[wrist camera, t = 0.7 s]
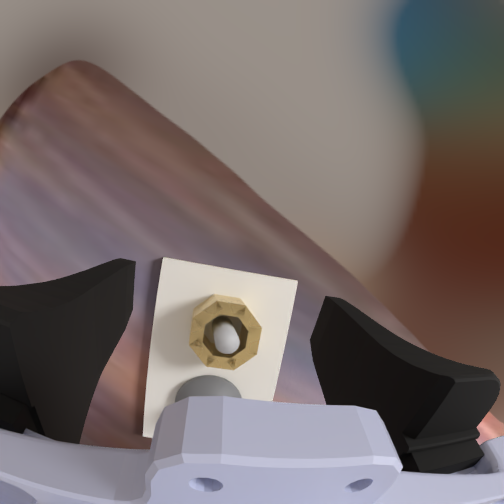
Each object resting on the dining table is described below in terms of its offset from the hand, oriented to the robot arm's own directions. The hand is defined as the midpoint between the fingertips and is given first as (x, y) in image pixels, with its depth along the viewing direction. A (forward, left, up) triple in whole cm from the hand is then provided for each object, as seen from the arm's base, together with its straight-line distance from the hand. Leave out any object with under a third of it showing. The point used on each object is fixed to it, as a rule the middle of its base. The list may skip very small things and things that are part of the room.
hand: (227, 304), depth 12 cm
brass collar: (-5, -2, -16) cm, 17 cm away
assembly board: (-9, -2, -17) cm, 19 cm away
